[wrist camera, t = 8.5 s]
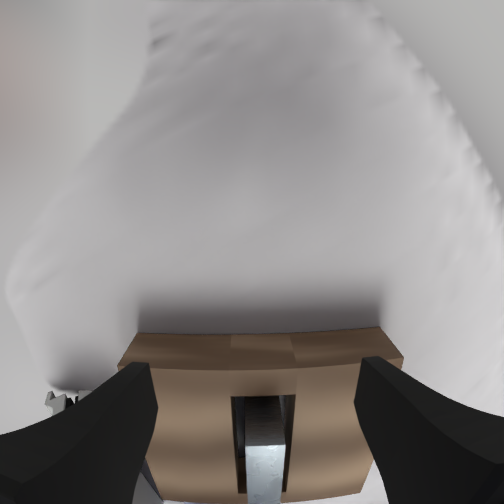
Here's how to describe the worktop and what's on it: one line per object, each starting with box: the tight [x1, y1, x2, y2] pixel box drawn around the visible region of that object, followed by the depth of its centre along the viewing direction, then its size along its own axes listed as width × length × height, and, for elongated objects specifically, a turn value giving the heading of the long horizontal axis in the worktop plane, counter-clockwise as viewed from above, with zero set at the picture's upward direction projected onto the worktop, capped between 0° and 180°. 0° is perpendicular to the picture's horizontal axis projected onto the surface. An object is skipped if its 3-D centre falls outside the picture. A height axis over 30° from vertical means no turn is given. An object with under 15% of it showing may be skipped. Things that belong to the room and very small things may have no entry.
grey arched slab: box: [45, 390, 164, 504], centre depth 19 cm, size 17×5×10 cm, turn 11°
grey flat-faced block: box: [245, 395, 286, 504], centre depth 18 cm, size 8×2×7 cm, turn 1°
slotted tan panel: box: [117, 327, 404, 504], centre depth 20 cm, size 14×16×4 cm
